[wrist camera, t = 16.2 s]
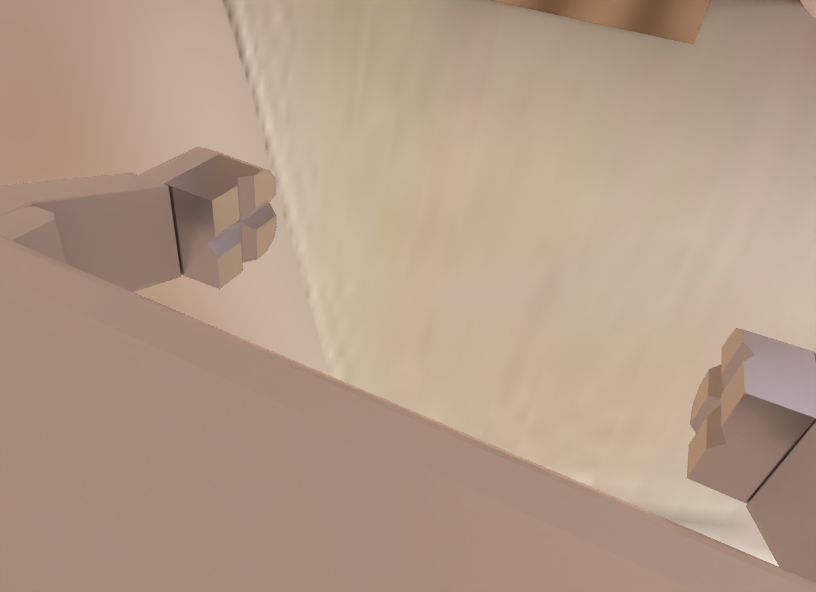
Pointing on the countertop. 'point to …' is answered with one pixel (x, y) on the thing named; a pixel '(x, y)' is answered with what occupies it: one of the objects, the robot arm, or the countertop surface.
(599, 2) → the walnut block
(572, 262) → the countertop surface
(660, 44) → the countertop surface
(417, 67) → the countertop surface
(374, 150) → the countertop surface
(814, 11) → the pill bottle
